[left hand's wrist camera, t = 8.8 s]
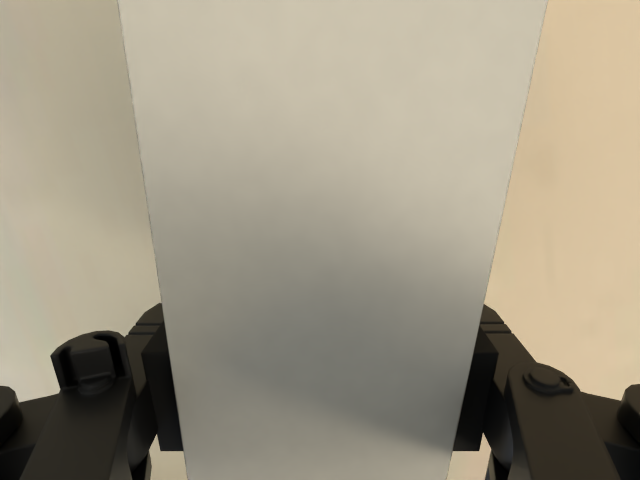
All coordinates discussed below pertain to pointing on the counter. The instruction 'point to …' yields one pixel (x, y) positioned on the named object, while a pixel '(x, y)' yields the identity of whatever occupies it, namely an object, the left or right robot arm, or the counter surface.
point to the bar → (325, 220)
